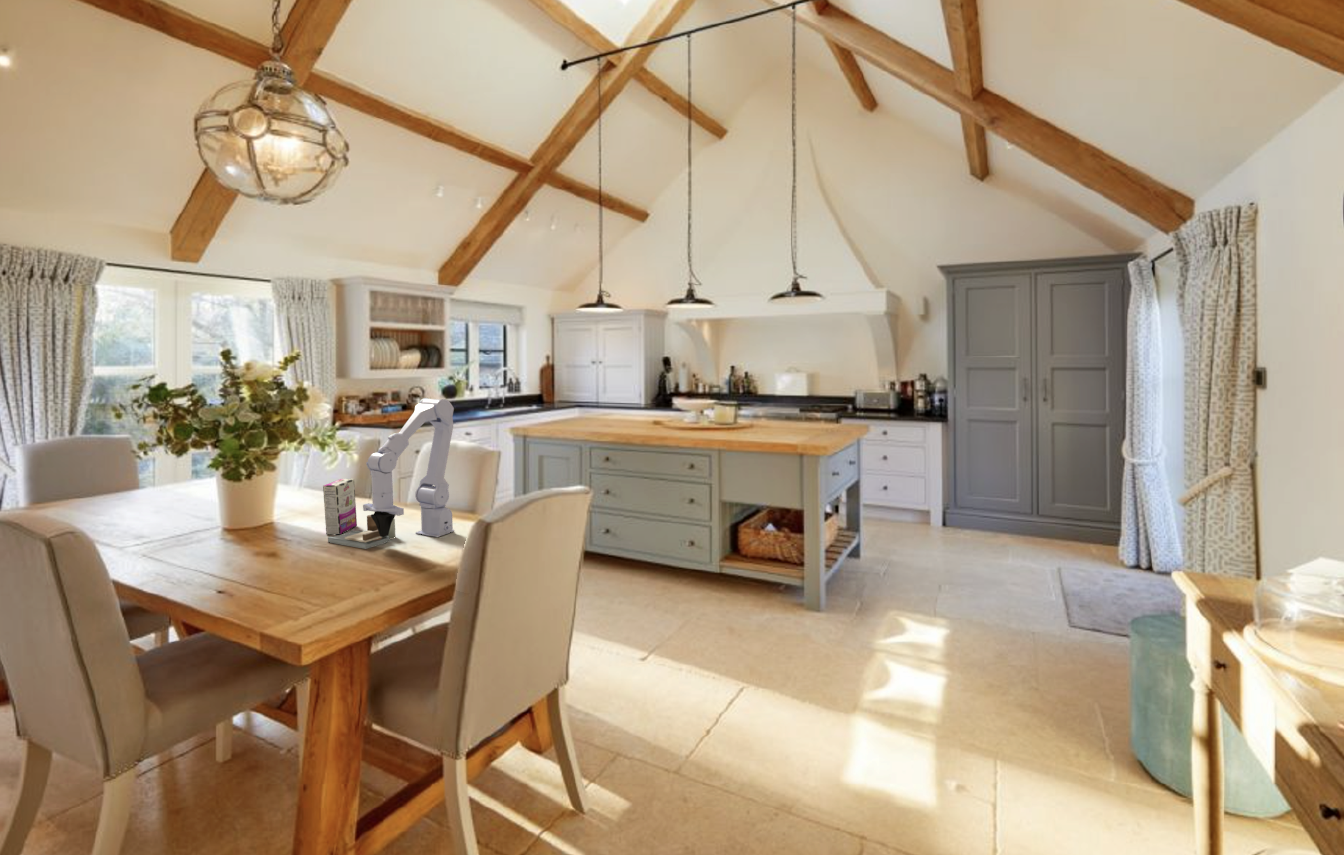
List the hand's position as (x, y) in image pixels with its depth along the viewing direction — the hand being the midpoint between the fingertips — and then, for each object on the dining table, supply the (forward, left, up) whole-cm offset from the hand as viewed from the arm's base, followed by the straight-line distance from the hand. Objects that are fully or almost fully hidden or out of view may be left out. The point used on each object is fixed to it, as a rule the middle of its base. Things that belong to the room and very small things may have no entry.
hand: (384, 535), depth 198 cm
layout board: (+11, 0, -3) cm, 11 cm away
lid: (+7, 0, -1) cm, 7 cm away
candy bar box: (+27, -7, -3) cm, 28 cm away
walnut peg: (+14, -9, -3) cm, 17 cm away
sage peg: (+6, -8, -3) cm, 10 cm away
